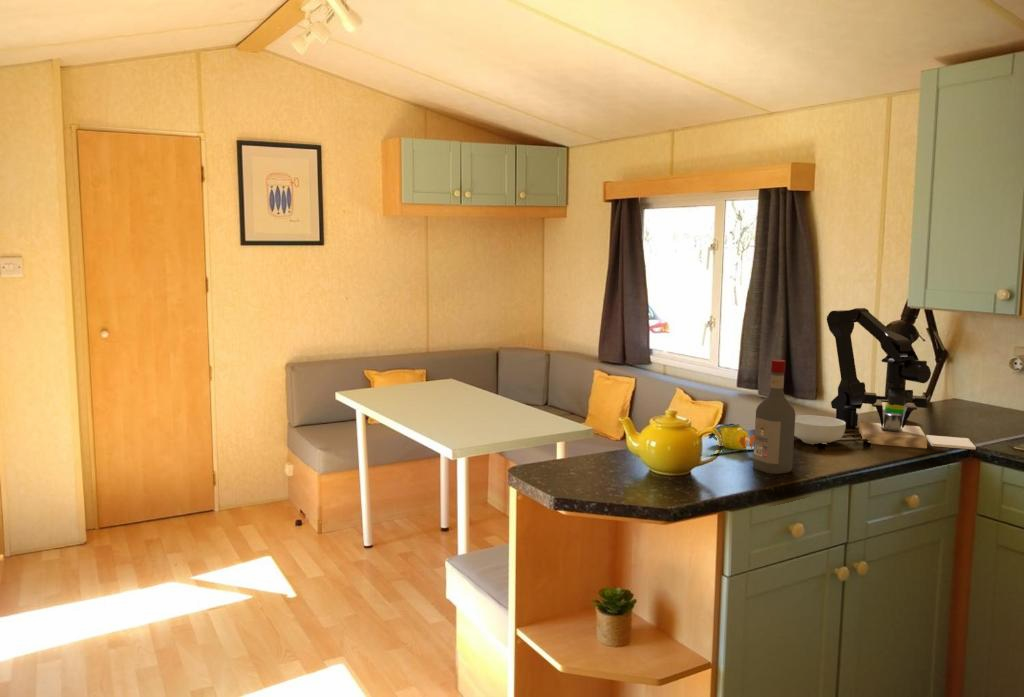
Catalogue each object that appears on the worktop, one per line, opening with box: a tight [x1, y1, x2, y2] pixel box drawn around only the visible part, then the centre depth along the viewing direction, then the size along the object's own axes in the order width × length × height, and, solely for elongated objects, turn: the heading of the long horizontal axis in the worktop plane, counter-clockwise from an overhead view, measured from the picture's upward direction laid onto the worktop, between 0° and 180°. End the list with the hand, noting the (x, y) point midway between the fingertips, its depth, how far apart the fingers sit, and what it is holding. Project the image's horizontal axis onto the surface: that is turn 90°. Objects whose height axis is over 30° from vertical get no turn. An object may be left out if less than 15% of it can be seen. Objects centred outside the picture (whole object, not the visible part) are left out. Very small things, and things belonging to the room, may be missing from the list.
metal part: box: [883, 413, 902, 433], centre depth 270 cm, size 5×5×8 cm
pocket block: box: [858, 421, 928, 449], centre depth 270 cm, size 18×18×3 cm
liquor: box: [752, 359, 797, 475], centre depth 231 cm, size 9×9×30 cm
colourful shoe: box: [701, 423, 755, 458], centre depth 254 cm, size 28×9×15 cm
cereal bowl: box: [794, 414, 847, 445], centre depth 265 cm, size 17×17×7 cm
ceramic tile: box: [925, 434, 977, 451], centre depth 266 cm, size 12×12×1 cm
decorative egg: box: [884, 402, 911, 423], centre depth 298 cm, size 8×8×10 cm
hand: (892, 426), depth 270 cm, fingers open, 6 cm apart
